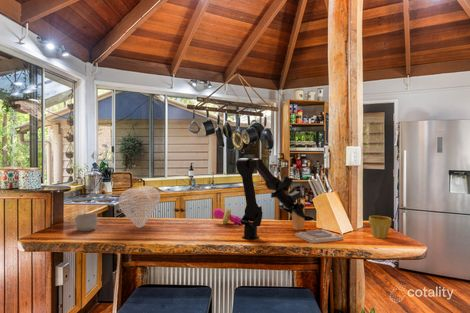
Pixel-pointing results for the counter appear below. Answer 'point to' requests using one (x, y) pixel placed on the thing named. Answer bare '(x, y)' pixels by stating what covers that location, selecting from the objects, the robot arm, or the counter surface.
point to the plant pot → (379, 226)
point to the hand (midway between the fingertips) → (300, 216)
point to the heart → (130, 216)
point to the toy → (226, 216)
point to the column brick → (298, 221)
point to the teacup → (86, 221)
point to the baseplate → (318, 236)
